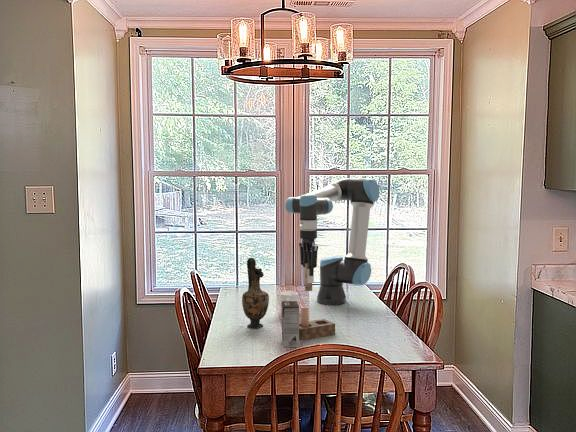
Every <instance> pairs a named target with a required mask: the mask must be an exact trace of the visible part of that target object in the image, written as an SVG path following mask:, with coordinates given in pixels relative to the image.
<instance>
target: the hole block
mask: <svg viewBox="0 0 576 432" xmlns="http://www.w3.org/2000/svg"><path fill="white" fill-rule="evenodd" d="M333 334H334V335H336V323H335V322H332V321H331V320H328V319H326V318H319V319H313V320H309V327H301V321H299V340H300V341H305V340H311V339H316V338H323V337H327V336H328V335H329V336H333Z"/></svg>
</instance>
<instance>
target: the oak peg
mask: <svg viewBox="0 0 576 432" xmlns="http://www.w3.org/2000/svg"><path fill="white" fill-rule="evenodd" d="M307 267H308V263H305V282H304V290H305V291H306V292H312V291H313V283H307Z"/></svg>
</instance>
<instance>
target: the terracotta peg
mask: <svg viewBox="0 0 576 432" xmlns="http://www.w3.org/2000/svg"><path fill="white" fill-rule="evenodd" d="M309 312H310V311H309V306H305V305H304V306H301V307H300V322H301V327H309V321H310V320H309V319H310V318H309V315H310V313H309Z"/></svg>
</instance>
